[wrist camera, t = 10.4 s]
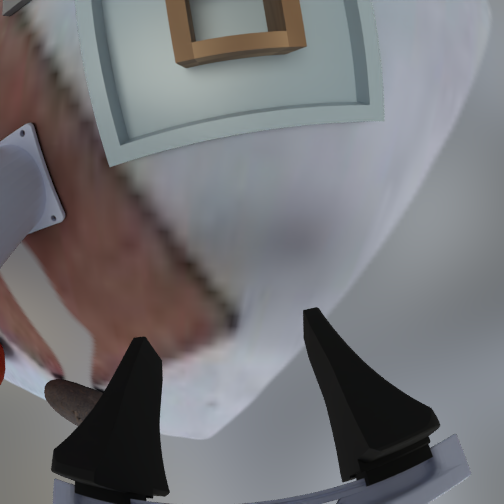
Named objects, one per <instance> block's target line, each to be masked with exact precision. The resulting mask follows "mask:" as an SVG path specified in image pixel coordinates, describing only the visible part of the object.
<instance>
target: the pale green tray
mask: <svg viewBox="0 0 504 504" xmlns="http://www.w3.org/2000/svg"><path fill="white" fill-rule="evenodd" d="M299 1H300V7H301V12H302V18H303V24H304V30H305V37H306V44H307V47H304V48H301V49H299V50H296V51H293V52H290V53H288V54H284V55H269V56H258V57H249V58H241V59H233V60H227V61H220V62H215V63H209V64H204V65H199V66H194V67H190V68H184V67H182V66H180V65H178V64H176V62H175V57H174V51H173V46H172V40H171V34H170V28H169V22H168V16H167V9H166V3H165V0H75V9H76V19H77V28H78V35H79V42H80V49H81V55H82V60H83V66H84V71H85V76H86V81H87V86H88V90H89V95H90V99H91V103H92V107H93V111H94V115H95V119H96V123H97V126H98V130H99V133H100V137H101V140H102V144H103V147H104V150H105V154H106V157H107V160H108V163H109V166H110V167H112V166H115V165H118V164H121V163H124V162H127V161H131V160H134V159H137V158H141V157H144V156H147V155H151V154H154V153H158V152H162V151H166V150H169V149H173V148H177V147H181V146H185V145H190V144H194V143H198V142H203V141H208V140H212V139H217V138H222V137H227V136H233V135H238V134H244V133H250V132H256V131H263V130H270V129H277V128H285V127H294V126H303V125H314V124H326V123H341V122H365V121H384V94H383V79H382V67H381V57H380V49H379V41H378V34H377V27H376V21H375V16H374V10H373V5H372V0H299ZM189 3H190V9H191V15H192V21H193V27H194V33H195V39H196V41H201V40H206V39H212V38H218V37H224V36H231V35H239V34H248V33H259V32H268V29H267V23H266V17H265V11H264V5H263V0H189Z"/></svg>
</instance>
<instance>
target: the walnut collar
mask: <svg viewBox="0 0 504 504" xmlns="http://www.w3.org/2000/svg"><path fill="white" fill-rule="evenodd" d="M165 3H166V9H167V16H168V22H169V28H170V34H171V40H172V46H173V51H174V57H175V62H176V64H178V65H180V66H182V67H184V68H190V67H194V66H199V65H204V64H209V63H215V62H220V61H227V60H233V59H241V58H249V57H258V56H269V55H284V54H288V53H290V52H293V51H296V50H299V49H301V48H304V47H307V44H306V37H305V30H304V24H303V18H302V12H301V7H300V1H299V0H263V5H264V11H265V17H266V23H267V29H268V32H259V33H248V34H239V35H231V36H224V37H218V38H212V39H206V40H201V41H196V39H195V33H194V27H193V21H192V15H191V9H190V3H189V0H165Z"/></svg>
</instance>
